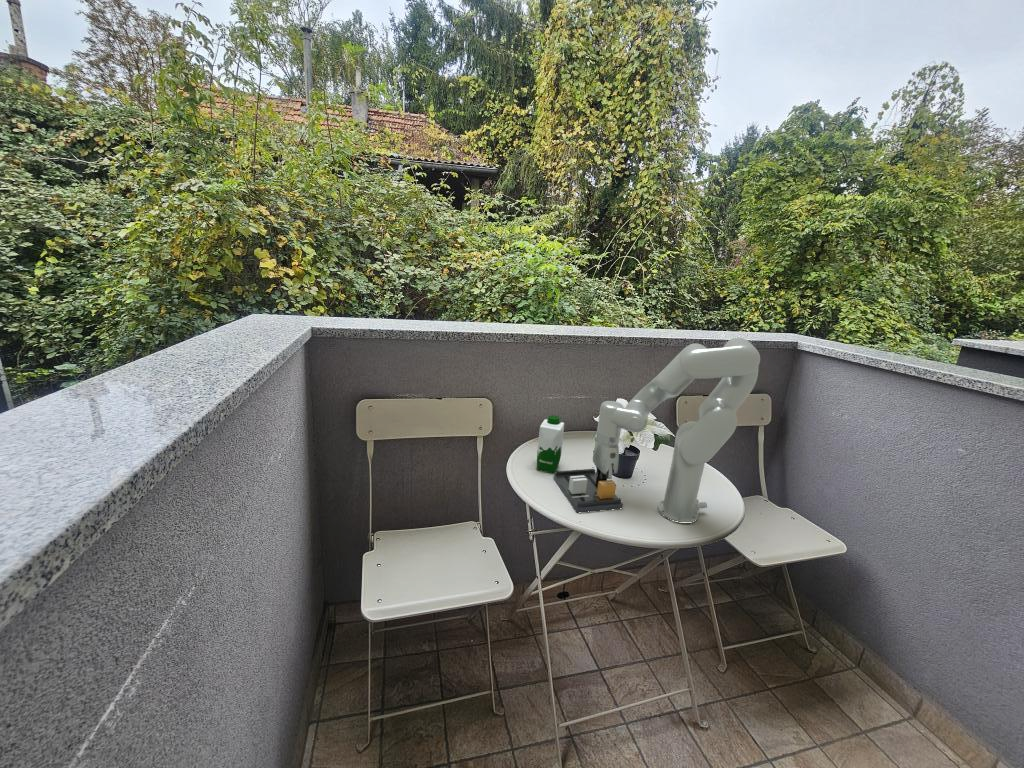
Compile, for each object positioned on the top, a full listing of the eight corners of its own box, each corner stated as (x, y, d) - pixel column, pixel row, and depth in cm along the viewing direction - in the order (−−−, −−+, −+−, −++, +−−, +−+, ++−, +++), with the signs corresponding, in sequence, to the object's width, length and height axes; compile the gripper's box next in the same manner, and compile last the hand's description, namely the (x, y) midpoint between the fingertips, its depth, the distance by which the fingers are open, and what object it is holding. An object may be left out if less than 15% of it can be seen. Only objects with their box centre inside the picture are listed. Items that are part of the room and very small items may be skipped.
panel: (593, 475, 165) (594, 467, 164) (622, 508, 145) (623, 500, 144) (553, 478, 161) (554, 470, 160) (577, 513, 141) (578, 504, 140)
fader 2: (610, 492, 150) (612, 479, 148) (614, 497, 147) (616, 484, 146) (596, 494, 148) (598, 480, 147) (600, 498, 146) (602, 485, 144)
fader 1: (582, 488, 151) (583, 474, 150) (585, 493, 149) (587, 479, 147) (568, 489, 150) (570, 475, 149) (571, 494, 147) (573, 480, 146)
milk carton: (561, 465, 171) (566, 417, 165) (556, 475, 163) (562, 425, 157) (539, 460, 174) (544, 413, 168) (533, 470, 166) (538, 421, 160)
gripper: (629, 447, 140) (620, 498, 145) (607, 428, 154) (600, 475, 159) (607, 448, 138) (600, 499, 143) (588, 429, 152) (581, 476, 157)
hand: (600, 486), depth 151 cm, fingers closed
